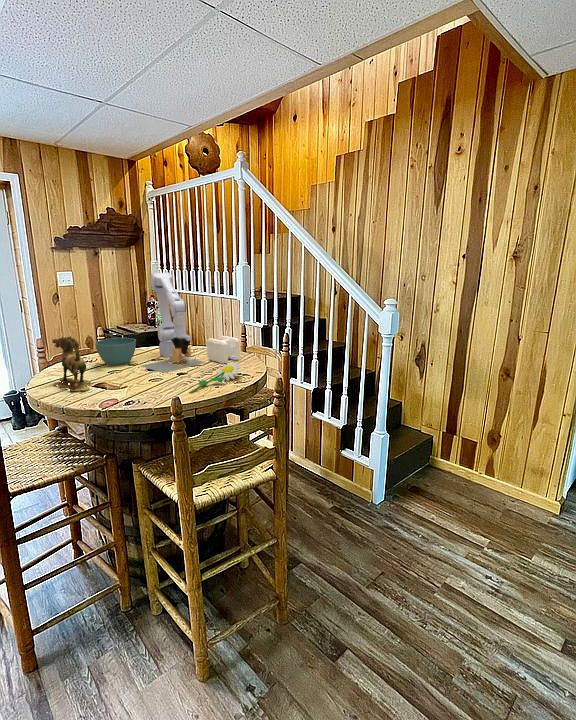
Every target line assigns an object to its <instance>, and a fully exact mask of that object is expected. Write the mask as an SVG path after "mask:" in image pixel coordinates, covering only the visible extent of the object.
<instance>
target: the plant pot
mask: <svg viewBox="0 0 576 720" xmlns="http://www.w3.org/2000/svg"><path fill="white" fill-rule="evenodd" d="M94 344H95V348H96V352H97V353H98V355H99V357H100V359H101V360H102V361H103V363H104V364H106V365H107V366H108V367H115V366H124V365H126V364H127V365H128V364H129V363H130V362H131V361H132V360H133V357H134V354H135V352H136V346H137V339H135V338H131V337H130V338H129V337H115V338H106V339H100V340H97V341H96V342H95V343H94Z"/></svg>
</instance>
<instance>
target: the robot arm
mask: <svg viewBox="0 0 576 720" xmlns="http://www.w3.org/2000/svg"><path fill="white" fill-rule="evenodd" d="M149 279H150V286H151V289H152V291H153V292H155V295H156V298H157V299H156V300H157V303H158V304H157V305H158V309H159V314H160V315H159V316H160V319H161V323H160V325H158V327H157V337H158V340H159V341H160V342H159V344H158V345H159V346H158V348H159V349H158V351H159V356H160V357H164V358H170V355H171V354H172V349H175V348H180V347H181V351H182V356H184V354H187V349H188V347H189V346H190V343H191V341H192V336H191V335H189V334H187V325H186V323H187V322H186V312H187V309H188V308H187V307H188V306H187V303H186V300H185V299H183V298H181V296H180V294H179V293H178V291H177V290H175V289H174V287H173V275H172V274H171V272H155V273H154V272H152V273H150V277H149Z"/></svg>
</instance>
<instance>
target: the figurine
mask: <svg viewBox="0 0 576 720" xmlns="http://www.w3.org/2000/svg"><path fill="white" fill-rule="evenodd" d="M51 343H52V344H54V346H55V348H57V349H58V348H60V349H62V353H61V365H62V368H63V377H62V378H60V379H59V380H58V382H57V381H56V382H54V383H53V384H52V386H53V385H58V386H59V387H60V388H69V389H70V392H69V393H71V392H84V393H87V392H88V391H90V387H88V385H90V384H92V382H91V381H90V380H87V379H84V374H85V372H86V370H87V364H86V362H85V360H84V359H83V358H82V357H81V356H80V343H79V341H77V339H76V338H74V337H72V336H66V337H63V336H62V337H59V338H54V339H52V342H51ZM67 371H68V372H70V373H71V374H72V375H73V378H70V377H67ZM79 373H80V376H79V378H78V375H79ZM59 381H61V382H59ZM62 382H63V383H62ZM68 383H70V385H68ZM59 387H58V388H59ZM60 388H59V389H60ZM86 391H87V392H86Z"/></svg>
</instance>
